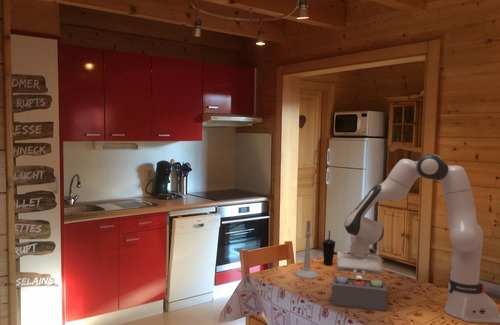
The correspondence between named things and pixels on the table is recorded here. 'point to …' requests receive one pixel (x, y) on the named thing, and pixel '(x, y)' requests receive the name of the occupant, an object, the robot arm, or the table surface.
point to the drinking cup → (328, 251)
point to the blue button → (341, 279)
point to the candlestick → (307, 259)
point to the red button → (359, 283)
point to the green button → (376, 283)
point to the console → (359, 295)
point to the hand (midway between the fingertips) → (358, 280)
